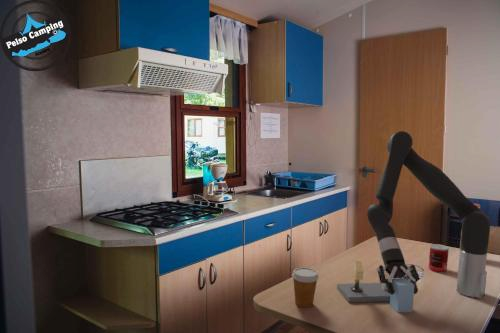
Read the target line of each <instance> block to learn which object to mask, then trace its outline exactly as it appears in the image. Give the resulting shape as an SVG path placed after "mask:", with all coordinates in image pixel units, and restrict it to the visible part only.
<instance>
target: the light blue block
mask: <svg viewBox="0 0 500 333" xmlns="http://www.w3.org/2000/svg"><path fill="white" fill-rule="evenodd" d="M391 282H392V285H393V288H394V291H395V293H394V294H393V295H391V297H390V301H389V306H390V307H391V308H392V309H393V310H394V311H395V312H396V313H412V312H413V309H414V308H413V307H414V296H415V294H414V284H413V283H411V282H410V281H409V280H407V279H404V278H392V280H391Z"/></svg>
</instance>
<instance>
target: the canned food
mask: <svg viewBox="0 0 500 333" xmlns="http://www.w3.org/2000/svg"><path fill="white" fill-rule="evenodd" d="M428 256H429V258H428V269H429V270H430V271H431V272H435V273H439V272H444V273H447V269H448V261H449V247H448V246H446V245H444V244H438V243H433V244H430V246H429V255H428Z"/></svg>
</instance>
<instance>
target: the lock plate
mask: <svg viewBox="0 0 500 333" xmlns="http://www.w3.org/2000/svg"><path fill="white" fill-rule="evenodd" d="M354 283H355V282H353V283H337V285H336V289H337V291H339V293H340V294H341V295H342V296H343V298H344V299H345V300H346V302H348V303H367V302H368V303H369V302H371V303H372V302H390V297H391V294H390V293H389V292H388V289H387V285H386V284H385V283H381V282H364V283H363V282H361V283H360V282H359V289H355V288H354ZM391 283H392V281H391Z"/></svg>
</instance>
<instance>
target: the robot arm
mask: <svg viewBox="0 0 500 333" xmlns="http://www.w3.org/2000/svg"><path fill="white" fill-rule="evenodd" d="M413 145H414V143H413V137H412V136H411V134H410V133H409V132H407V131H404V130H400V131H399V130H398V131H397V132H395V133H393V134H392V135H391V136H390V138H388V141H387V145H386V148H387V151H388V158H387V160H386V161H387V162H386V165H385V167H384V170H383V172H382V175H381V177H380V179H379V182H378V186H377V189H376V193H375V198H376V199H377V201H378V204H377V203H373V204H371V205H369V206H368V208H367V211H366V217H367V221H368V222H369V224H370V226H371V228H372V230H373V232H374V233H375V236H376V240H377V242H378V249H379V253H380V255H381V260H382V262H383V265H382V264H380V265H378V267H377V269H376V270H377V274H378V279H379V283H385V284H386V285H387V289H388V292H389V293H390V294H391V295H393V294H394V293H395V291H394V288H393V285H392V283H391V282H392V279H407V280H409V281H410V282H411V283H413V284H414V295H416V294H417V293H418V292H419V289H418V286H417V282H419V281H420V280H421V279H420V278H421V277H420V275H419V273H418V271H417V268H416V265H414V264H411V265H407V264H406V262H405V261H406V260H405V257H404V255H403V252H402V248H401V246H400V243H399V241H398V238H397V237H396V233H395V230H394V228H393V226H391V225H390V222H391V220H392V218H393V213H394V198H395V194H396V190H397V187H398V183H399V181H400V180H399V179H400V176H401V171H402V168H403V167H405V168H406V169H407V170H409V172H410V173H411V174H412V175H413V176H414V177H415V178H416V179H417V180H418V181H419V182H420V184H422V187H424V188H425V189H426V190H427V191H428V192H429V193H430V194H431V195H432V196H433V197H434V198H436V199H437V200H439V201H440V202H441V203H443V204H445V206H447V207H448V208H450V209H451V210H452V211H453V213H454V214H455V215H456V216H457V218H459V219H460V221H461V223H462V225H461V231H462V234H461V233H460V242H461V246H460V245H459V253H460V256H459V258H458V259H459V260H458V270H457V280H456V292H457V291H458V292H459V293H458V292H457V293H458V294H460V293H461V294H460V295H462V294H463V295H462V296H465V295H466V296H465V297H468V296H471V297H470V298H474V297H477V298H476V299H479V298H480V297H481V298H482V297H484V296H485V295H484V294H486V286H487V285H486V284H487V275H488V273H487V271H486V267H487V257H488V248H489V242H490V241H489V239H490V231H491V221H490V217H489V216H488V214H487V213H486V212H484V211H483V210H482V209H481V208H478V207H477V206H475V205H474V204H473V202H472V201H471V200H470V199H468V197H467V196H465V195H464V193H463V192H462V191H461V190H460V188H459V187H458V186H457V185H456V184H455V183H454V182H453V181H452V180H451V179H450V178H449V177H448V175H447V174H446V173H445V172H444V171H443V170H442V169H440V168H439V167H438V166H436V165H434V164H433V163H431V162H429V161H427V160H425V159H424V158H422V157H421V156H420V155H419V154H418V153H417V152H416V151H415V150H414V149H413V148H412V146H413ZM385 272H386V273H387V274H388V275H387V277H386V275H385ZM483 295H484V296H483ZM481 298H480V299H481Z"/></svg>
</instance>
